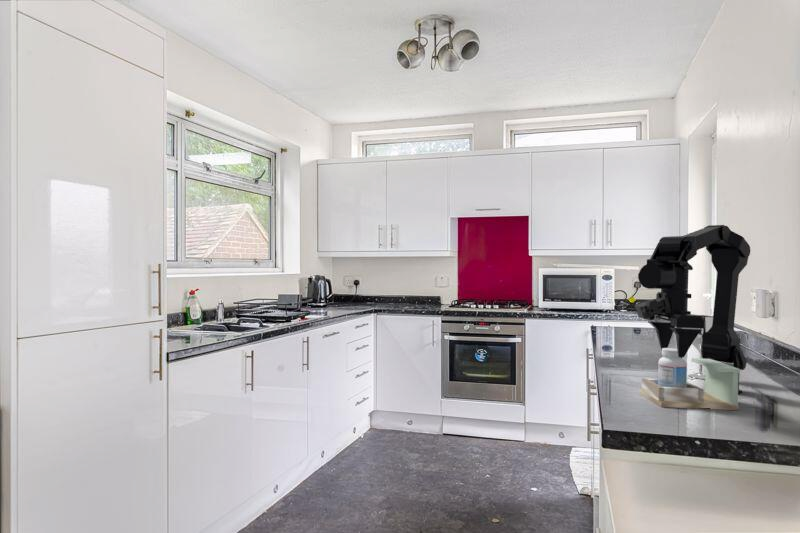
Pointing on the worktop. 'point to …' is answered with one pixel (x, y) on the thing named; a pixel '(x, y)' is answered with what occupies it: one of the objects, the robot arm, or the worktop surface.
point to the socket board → (682, 396)
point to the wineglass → (698, 343)
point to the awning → (720, 380)
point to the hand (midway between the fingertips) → (672, 354)
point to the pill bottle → (671, 369)
